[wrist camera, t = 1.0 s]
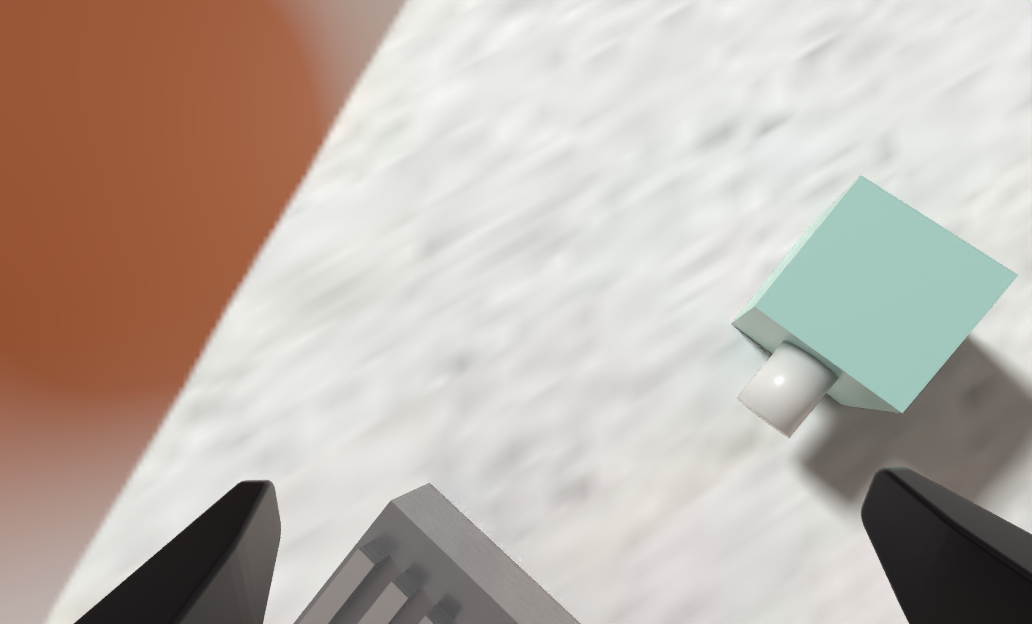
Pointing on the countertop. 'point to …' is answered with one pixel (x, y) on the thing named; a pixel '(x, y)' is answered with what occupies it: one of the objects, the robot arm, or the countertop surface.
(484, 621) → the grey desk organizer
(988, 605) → the robot arm
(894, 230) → the mint green box
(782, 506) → the countertop surface
